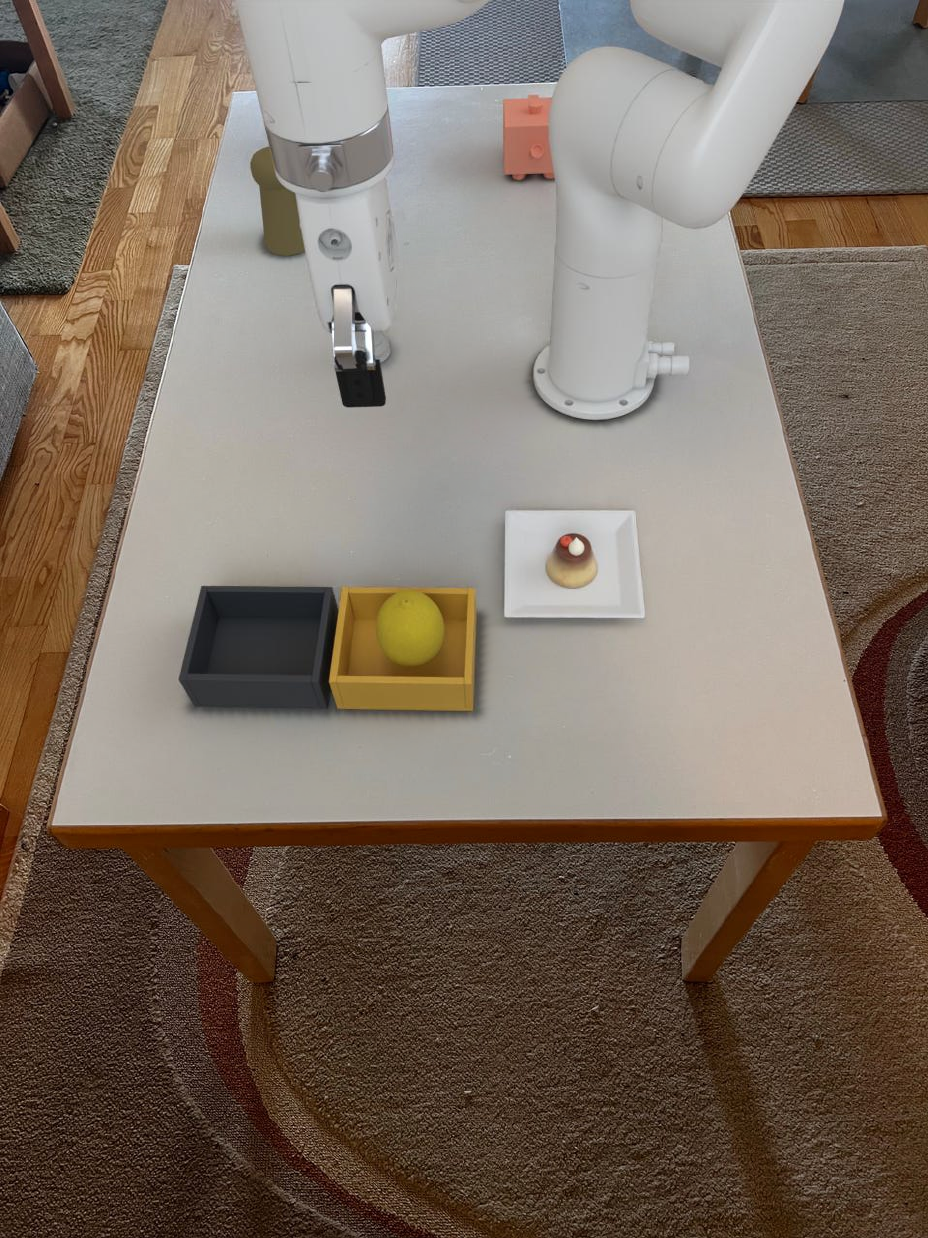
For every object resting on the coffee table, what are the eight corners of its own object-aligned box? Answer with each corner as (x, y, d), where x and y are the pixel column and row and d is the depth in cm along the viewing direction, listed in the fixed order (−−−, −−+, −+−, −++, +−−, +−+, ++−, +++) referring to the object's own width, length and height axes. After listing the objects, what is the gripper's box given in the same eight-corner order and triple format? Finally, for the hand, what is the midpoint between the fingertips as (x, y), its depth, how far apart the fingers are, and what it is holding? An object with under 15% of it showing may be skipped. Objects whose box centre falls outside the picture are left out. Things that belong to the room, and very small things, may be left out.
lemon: (425, 694, 75) (417, 642, 68) (369, 666, 76) (356, 613, 70) (459, 644, 77) (454, 589, 71) (404, 618, 79) (394, 562, 72)
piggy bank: (505, 196, 115) (505, 131, 108) (502, 145, 122) (502, 80, 115) (567, 194, 115) (571, 128, 108) (561, 143, 121) (564, 78, 115)
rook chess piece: (343, 363, 99) (331, 300, 92) (360, 337, 101) (350, 274, 94) (380, 372, 97) (371, 310, 91) (397, 346, 100) (389, 283, 93)
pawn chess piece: (305, 257, 109) (287, 169, 100) (258, 253, 110) (236, 165, 101) (320, 228, 113) (303, 140, 103) (273, 224, 113) (253, 136, 104)
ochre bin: (476, 617, 79) (475, 587, 76) (473, 711, 74) (471, 683, 71) (349, 616, 80) (341, 586, 76) (337, 709, 75) (328, 681, 71)
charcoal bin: (340, 616, 80) (332, 586, 76) (327, 709, 75) (318, 681, 71) (215, 615, 81) (201, 585, 77) (194, 706, 75) (178, 679, 72)
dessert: (505, 517, 86) (505, 483, 82) (633, 517, 85) (639, 483, 81) (504, 624, 79) (504, 592, 75) (643, 625, 78) (651, 592, 74)
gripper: (383, 222, 51) (413, 439, 65) (398, 66, 60) (421, 286, 75) (251, 228, 51) (309, 443, 66) (286, 71, 61) (330, 289, 75)
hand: (369, 359), depth 70 cm, fingers open, 9 cm apart
